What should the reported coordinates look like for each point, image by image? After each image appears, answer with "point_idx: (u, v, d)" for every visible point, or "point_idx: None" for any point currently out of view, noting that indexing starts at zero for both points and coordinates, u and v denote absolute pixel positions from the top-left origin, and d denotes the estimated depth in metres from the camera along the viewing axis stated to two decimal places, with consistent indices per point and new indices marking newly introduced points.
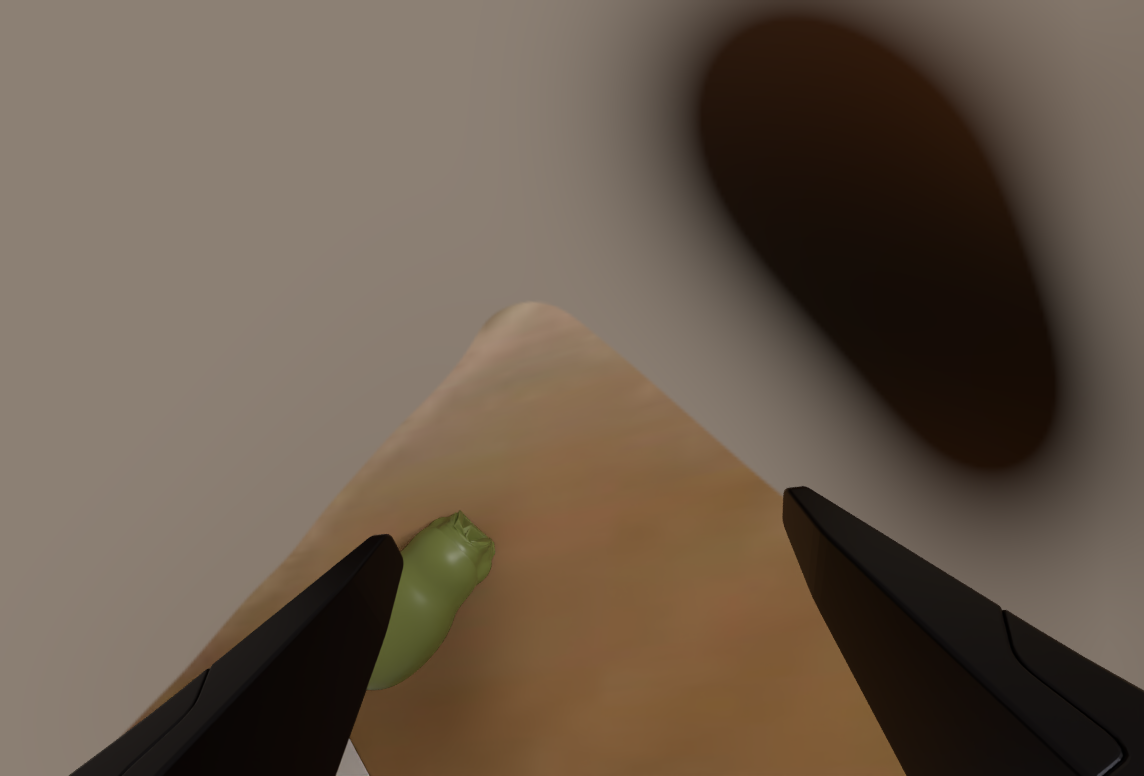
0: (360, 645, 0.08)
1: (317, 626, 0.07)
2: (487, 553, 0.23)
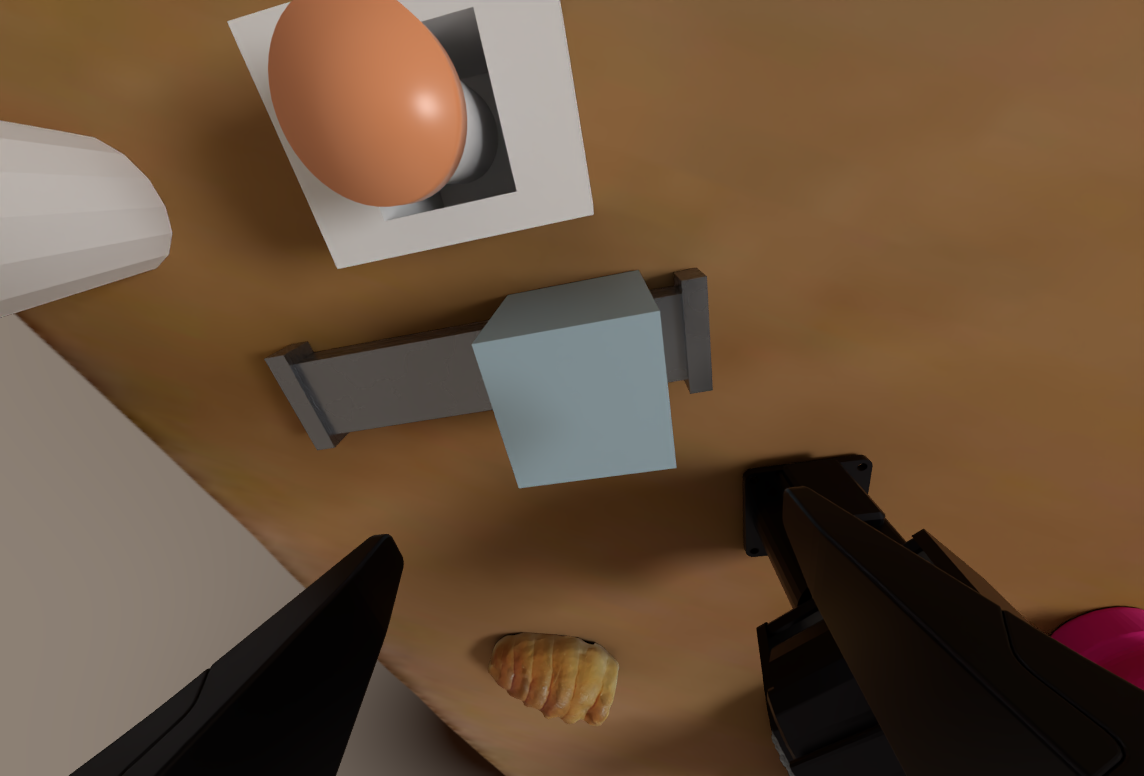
0: (360, 645, 0.08)
1: (317, 626, 0.07)
2: None
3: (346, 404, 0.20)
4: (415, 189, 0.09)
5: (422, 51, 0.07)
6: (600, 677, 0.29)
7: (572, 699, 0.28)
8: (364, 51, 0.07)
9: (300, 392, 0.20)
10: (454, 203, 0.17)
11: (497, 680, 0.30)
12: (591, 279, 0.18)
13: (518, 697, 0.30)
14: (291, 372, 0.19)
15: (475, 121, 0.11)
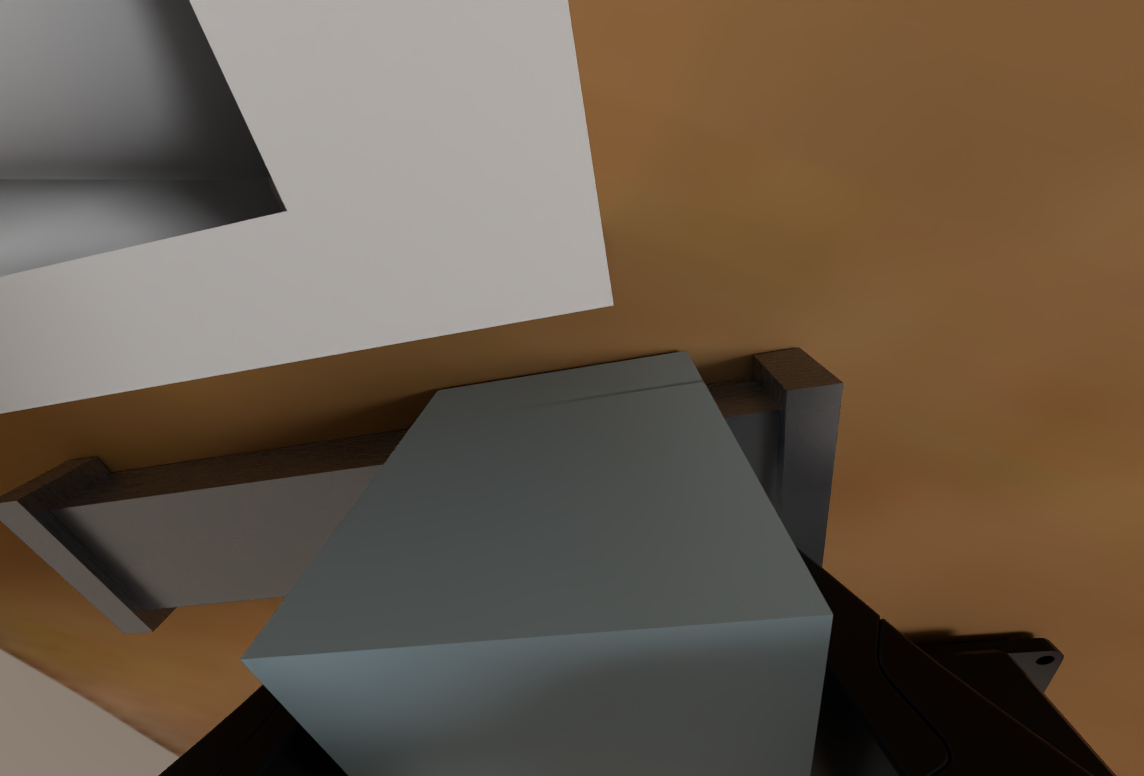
0: None
1: None
2: None
3: (160, 569, 0.11)
4: None
5: None
6: None
7: None
8: None
9: (68, 556, 0.11)
10: None
11: None
12: (595, 366, 0.09)
13: None
14: (42, 525, 0.10)
15: None
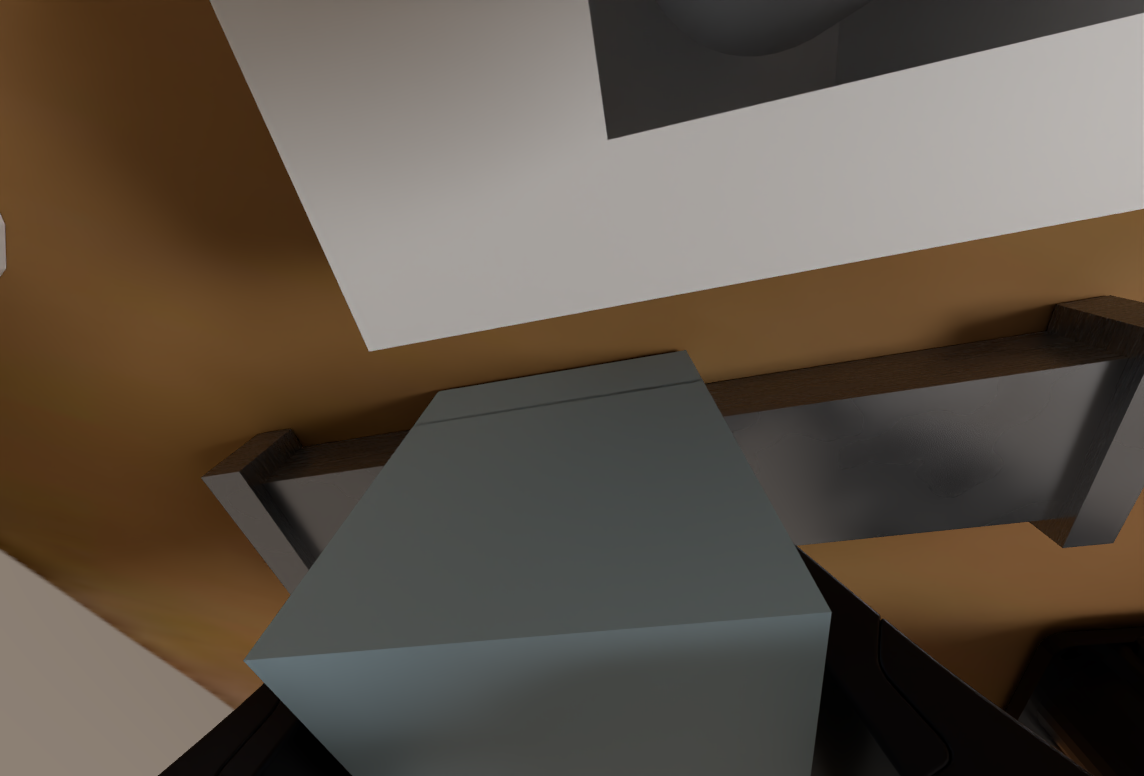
0: None
1: None
2: None
3: None
4: None
5: None
6: None
7: None
8: None
9: (275, 533, 0.10)
10: None
11: None
12: (594, 366, 0.09)
13: None
14: (256, 500, 0.10)
15: None
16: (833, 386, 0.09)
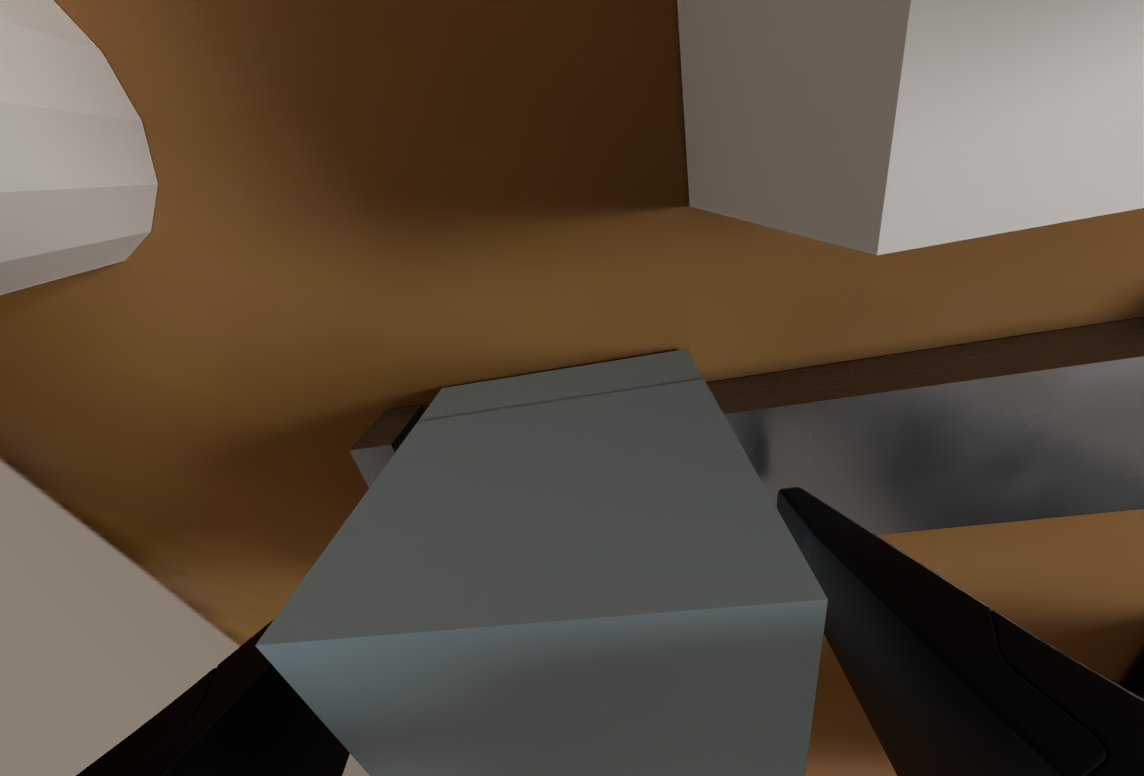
0: None
1: None
2: None
3: None
4: None
5: None
6: None
7: None
8: None
9: None
10: None
11: None
12: (596, 364, 0.10)
13: None
14: None
15: None
16: (1022, 358, 0.08)
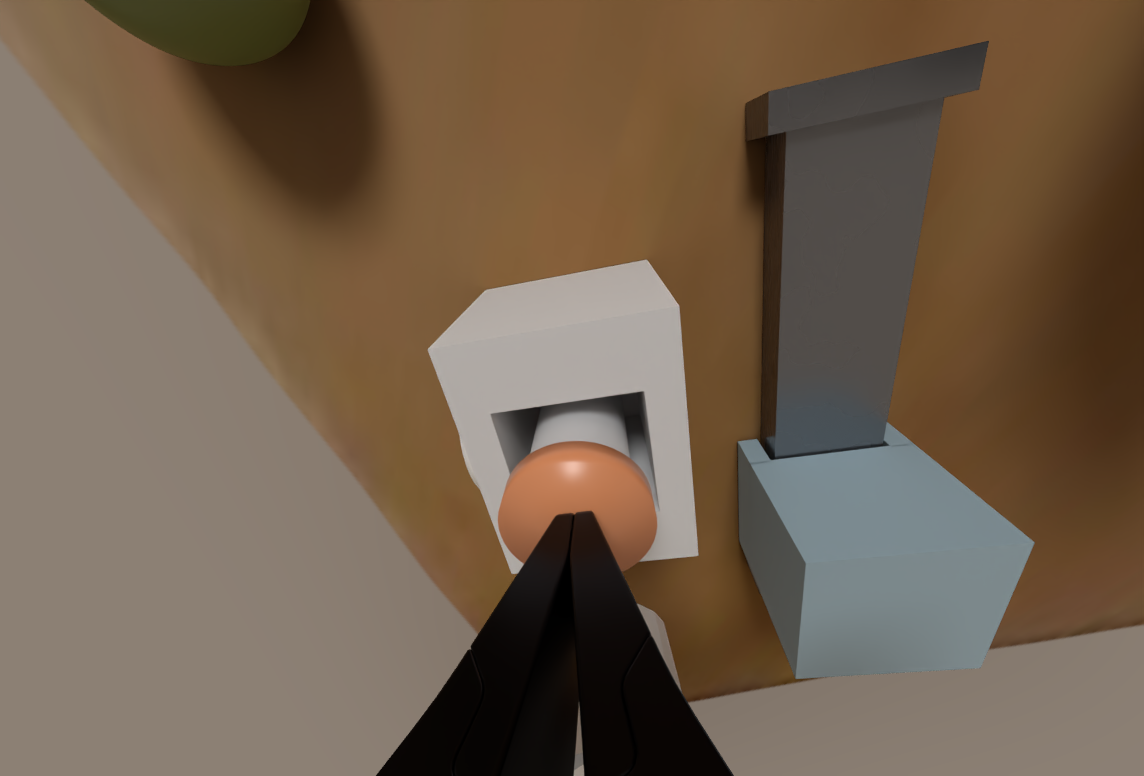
0: None
1: (551, 606, 0.07)
2: None
3: None
4: (645, 503, 0.09)
5: (539, 480, 0.09)
6: None
7: None
8: (540, 518, 0.09)
9: None
10: (635, 405, 0.17)
11: None
12: (738, 480, 0.18)
13: None
14: None
15: (578, 405, 0.11)
16: (774, 296, 0.14)
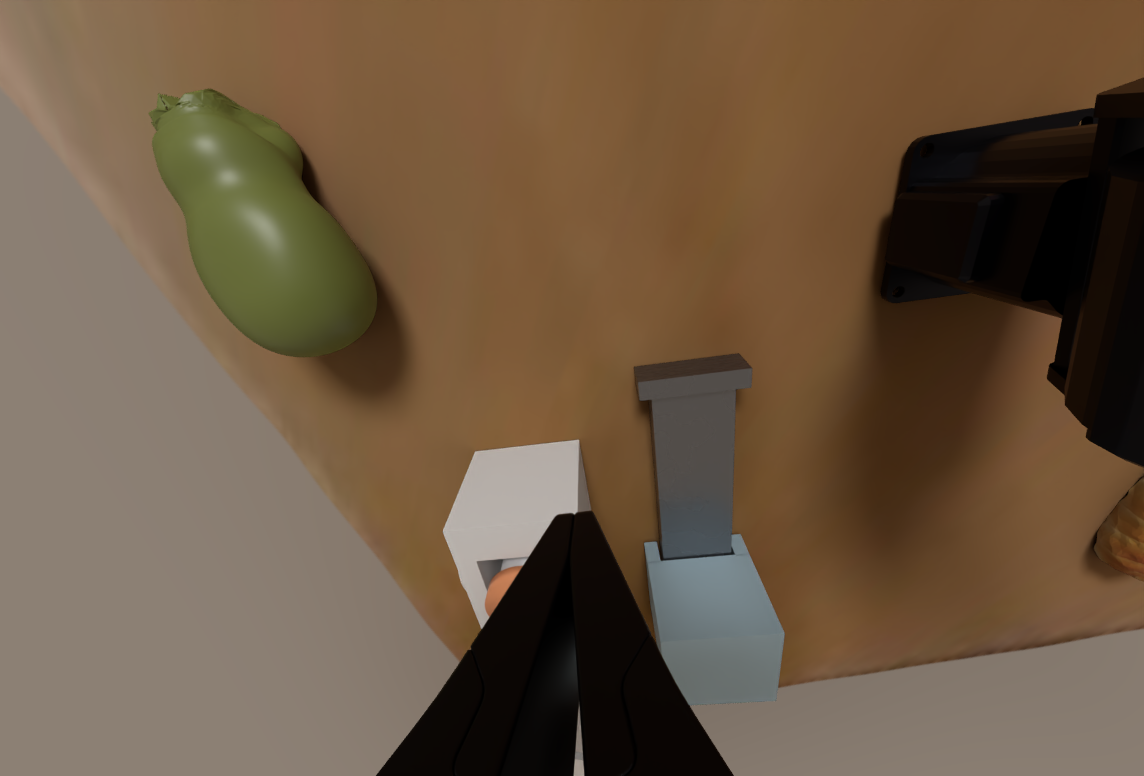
0: None
1: (551, 606, 0.07)
2: (245, 115, 0.15)
3: None
4: None
5: (505, 588, 0.18)
6: None
7: None
8: None
9: None
10: None
11: None
12: None
13: None
14: None
15: None
16: (655, 468, 0.22)
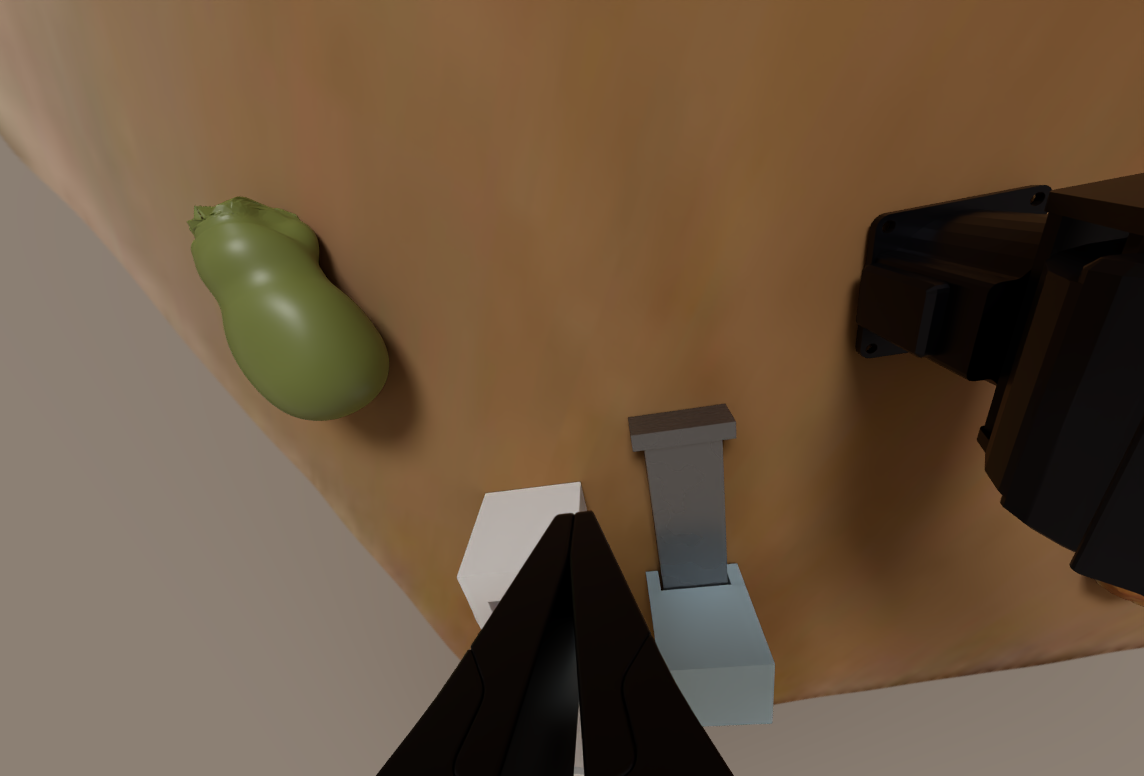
0: None
1: (551, 606, 0.07)
2: (268, 213, 0.17)
3: None
4: None
5: None
6: None
7: None
8: None
9: None
10: None
11: None
12: None
13: None
14: None
15: None
16: (652, 508, 0.24)
